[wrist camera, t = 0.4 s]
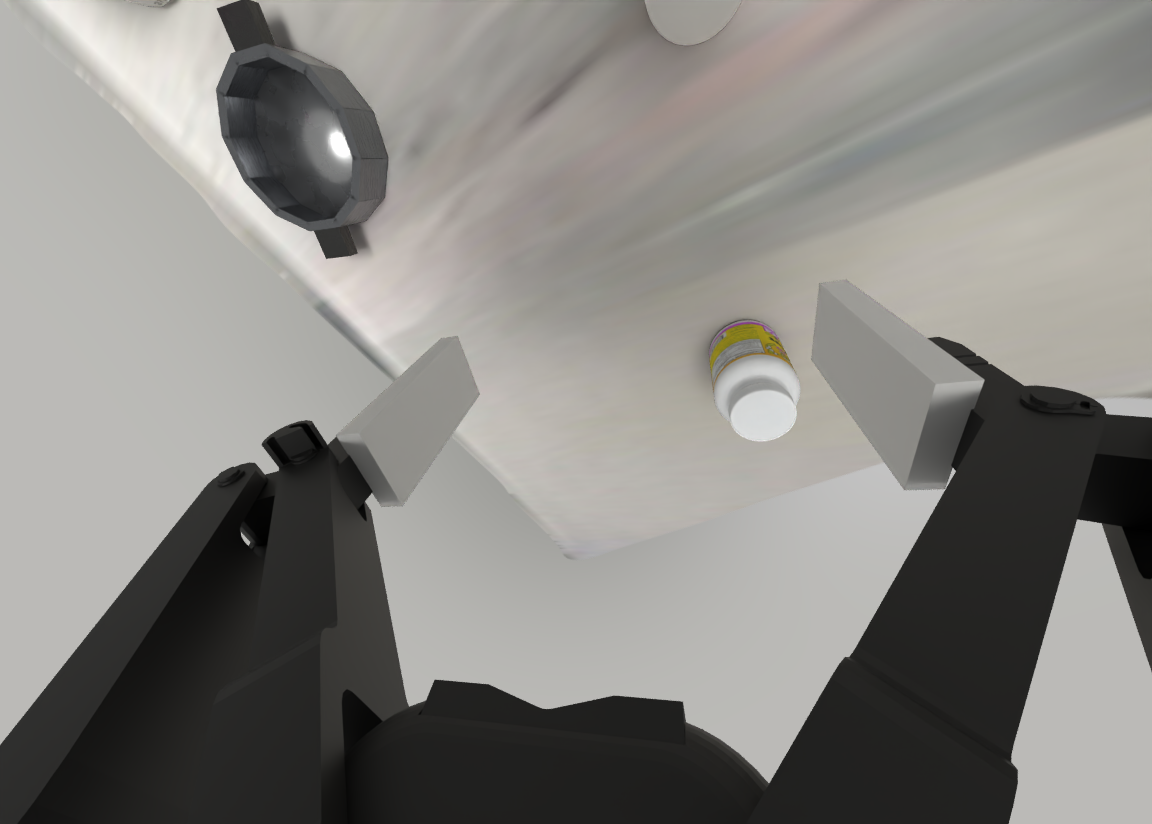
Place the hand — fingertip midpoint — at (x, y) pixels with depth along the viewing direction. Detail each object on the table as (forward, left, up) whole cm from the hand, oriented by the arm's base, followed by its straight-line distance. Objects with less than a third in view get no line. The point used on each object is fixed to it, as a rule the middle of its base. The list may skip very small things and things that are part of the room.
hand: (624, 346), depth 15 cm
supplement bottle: (+12, +8, -27) cm, 30 cm away
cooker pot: (-11, -32, -27) cm, 43 cm away
